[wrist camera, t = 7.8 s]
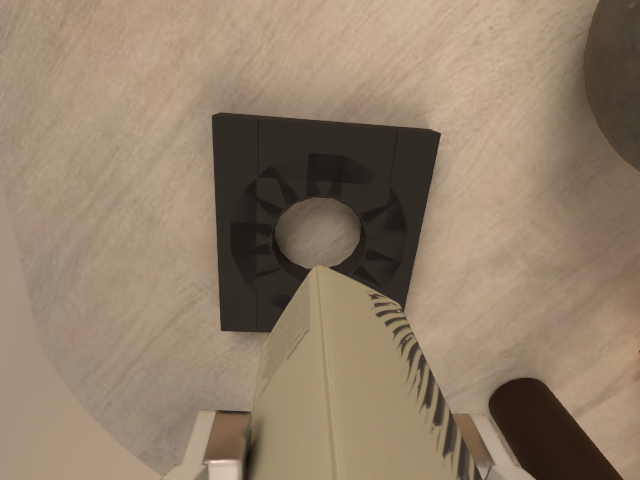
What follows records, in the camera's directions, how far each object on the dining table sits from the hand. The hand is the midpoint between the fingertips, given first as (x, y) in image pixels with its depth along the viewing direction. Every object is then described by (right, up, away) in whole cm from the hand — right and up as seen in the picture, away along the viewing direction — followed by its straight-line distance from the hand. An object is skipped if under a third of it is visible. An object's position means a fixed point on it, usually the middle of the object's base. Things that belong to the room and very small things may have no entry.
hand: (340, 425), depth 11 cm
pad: (-1, +6, +19) cm, 20 cm away
